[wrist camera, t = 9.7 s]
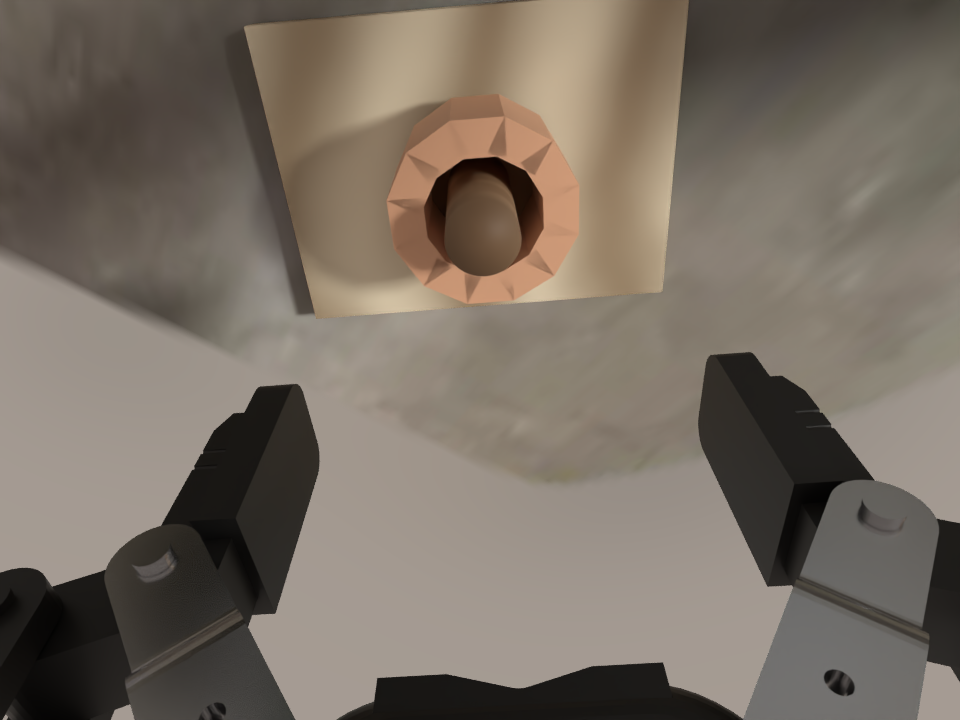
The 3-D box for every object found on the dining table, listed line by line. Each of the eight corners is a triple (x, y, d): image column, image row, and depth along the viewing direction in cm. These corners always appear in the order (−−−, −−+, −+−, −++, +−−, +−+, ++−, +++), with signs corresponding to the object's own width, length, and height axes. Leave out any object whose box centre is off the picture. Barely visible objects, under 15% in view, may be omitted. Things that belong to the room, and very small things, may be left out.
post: (537, 105, 24) (562, 152, 18) (540, 228, 27) (563, 306, 21) (408, 116, 24) (391, 166, 18) (424, 237, 27) (413, 317, 21)
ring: (562, 88, 23) (580, 109, 19) (563, 252, 26) (578, 295, 23) (387, 103, 23) (374, 127, 19) (411, 264, 26) (403, 309, 23)
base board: (680, -14, 23) (690, -13, 22) (655, 280, 29) (662, 291, 28) (253, 24, 23) (243, 26, 22) (321, 306, 30) (316, 318, 29)
